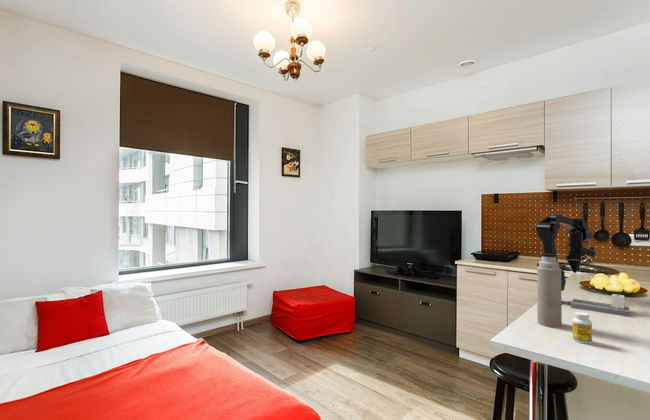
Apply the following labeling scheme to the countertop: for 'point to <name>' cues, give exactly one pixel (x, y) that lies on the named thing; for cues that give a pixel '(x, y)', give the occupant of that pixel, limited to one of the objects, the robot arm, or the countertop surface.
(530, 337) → the countertop surface
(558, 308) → the thermos bottle
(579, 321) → the supplement bottle
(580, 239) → the robot arm
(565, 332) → the countertop surface
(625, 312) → the console board
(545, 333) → the countertop surface
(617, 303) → the fader cap
